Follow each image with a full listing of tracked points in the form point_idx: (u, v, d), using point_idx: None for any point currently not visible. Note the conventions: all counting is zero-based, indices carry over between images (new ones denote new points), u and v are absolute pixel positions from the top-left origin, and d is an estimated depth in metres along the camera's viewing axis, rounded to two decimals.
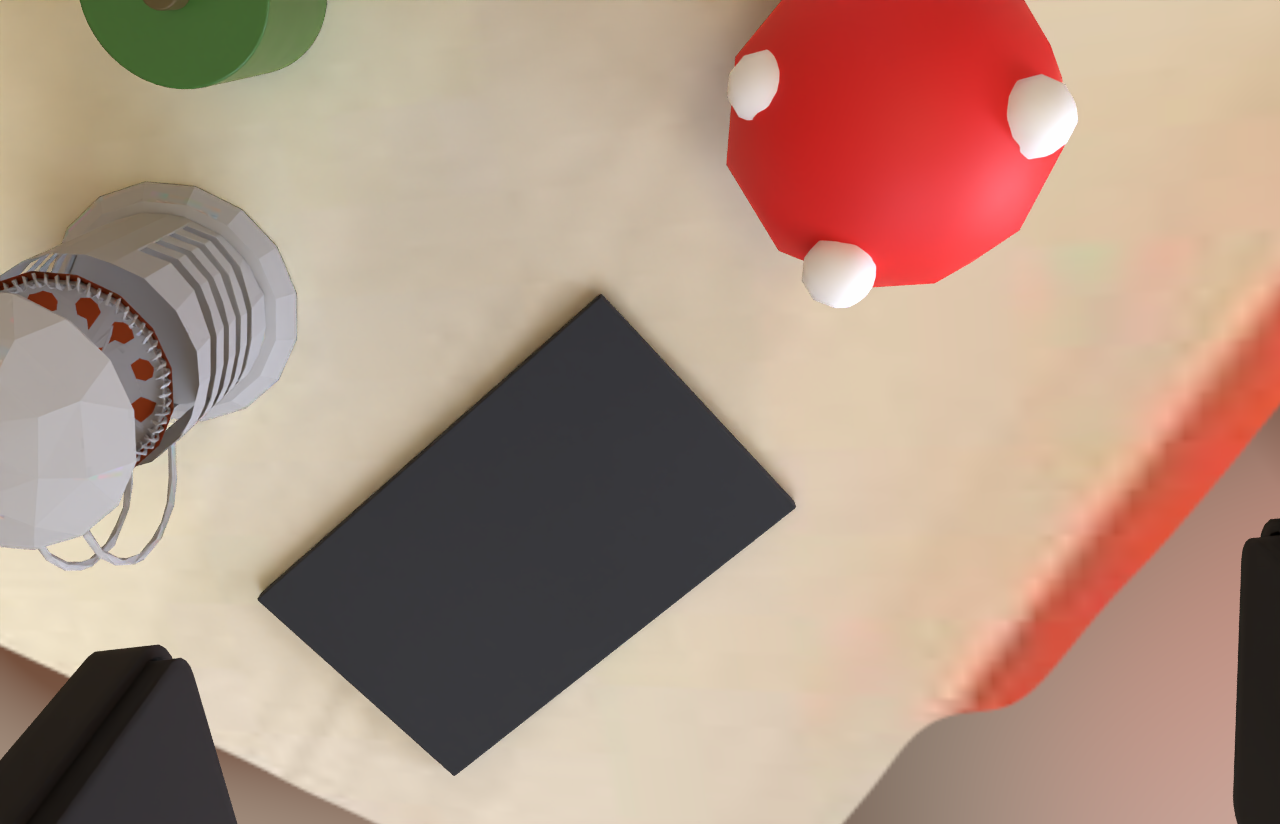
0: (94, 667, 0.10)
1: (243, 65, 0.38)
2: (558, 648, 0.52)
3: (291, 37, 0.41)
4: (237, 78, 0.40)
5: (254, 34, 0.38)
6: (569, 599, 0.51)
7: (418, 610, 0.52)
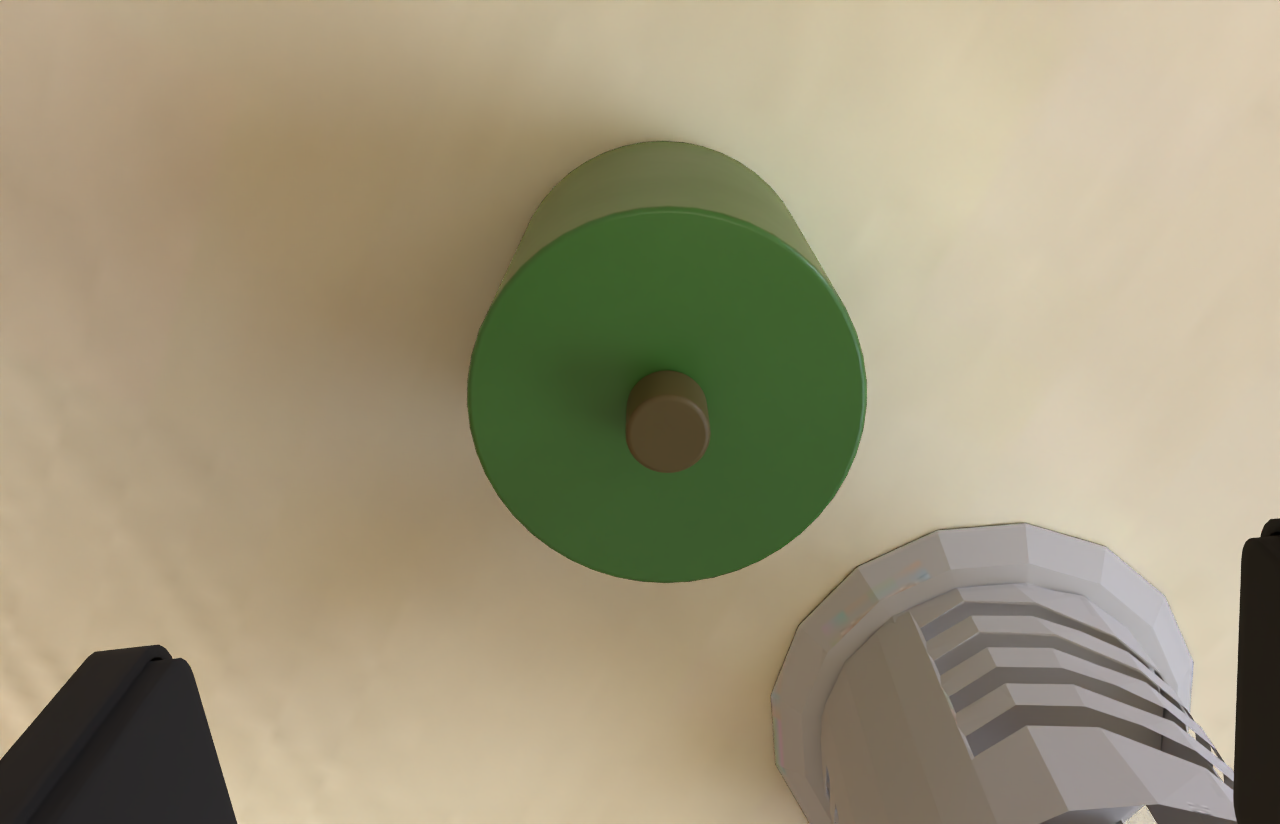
0: (94, 667, 0.10)
1: (865, 385, 0.18)
2: None
3: None
4: None
5: (836, 326, 0.18)
6: None
7: None
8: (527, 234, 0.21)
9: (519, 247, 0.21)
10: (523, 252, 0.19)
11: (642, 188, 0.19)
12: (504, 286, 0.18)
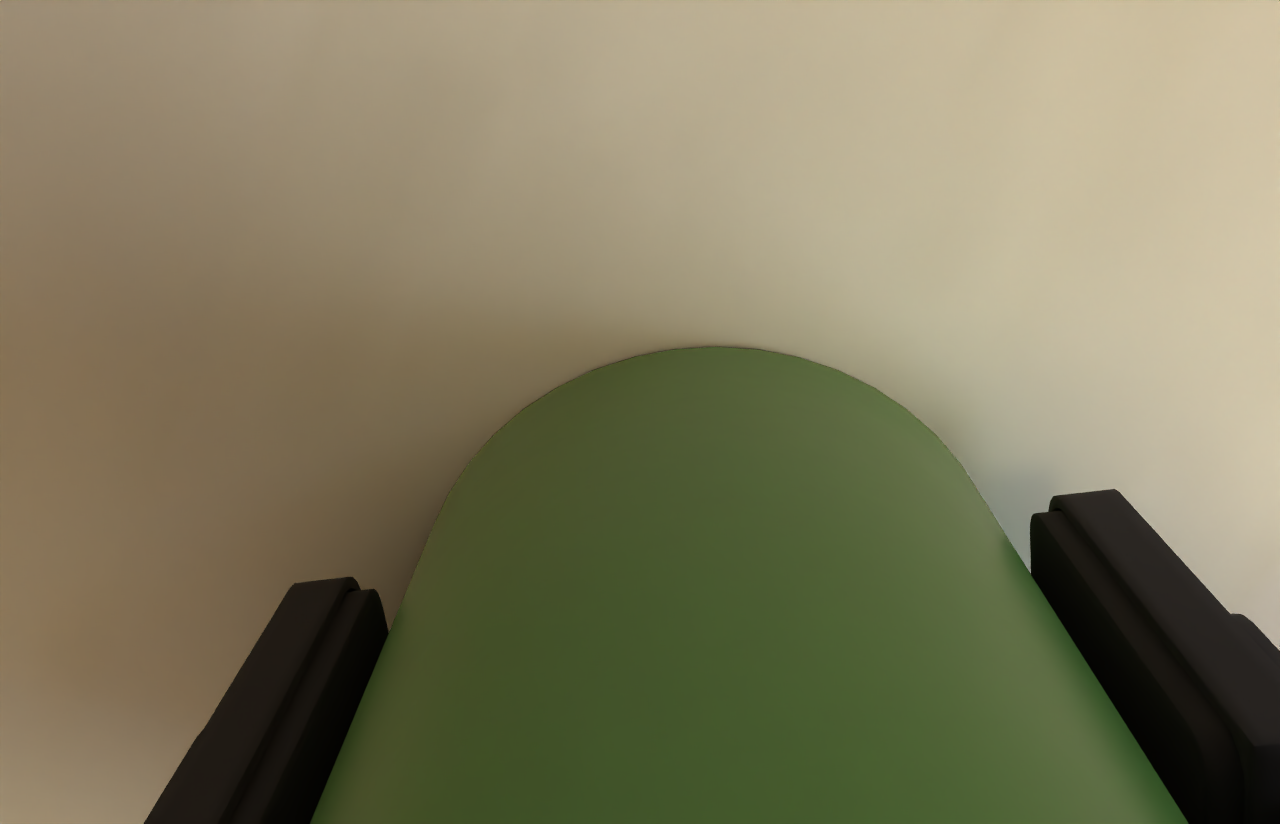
0: (300, 596, 0.11)
1: None
2: None
3: None
4: None
5: None
6: None
7: None
8: (403, 632, 0.09)
9: (380, 673, 0.08)
10: (349, 808, 0.07)
11: (692, 633, 0.06)
12: None
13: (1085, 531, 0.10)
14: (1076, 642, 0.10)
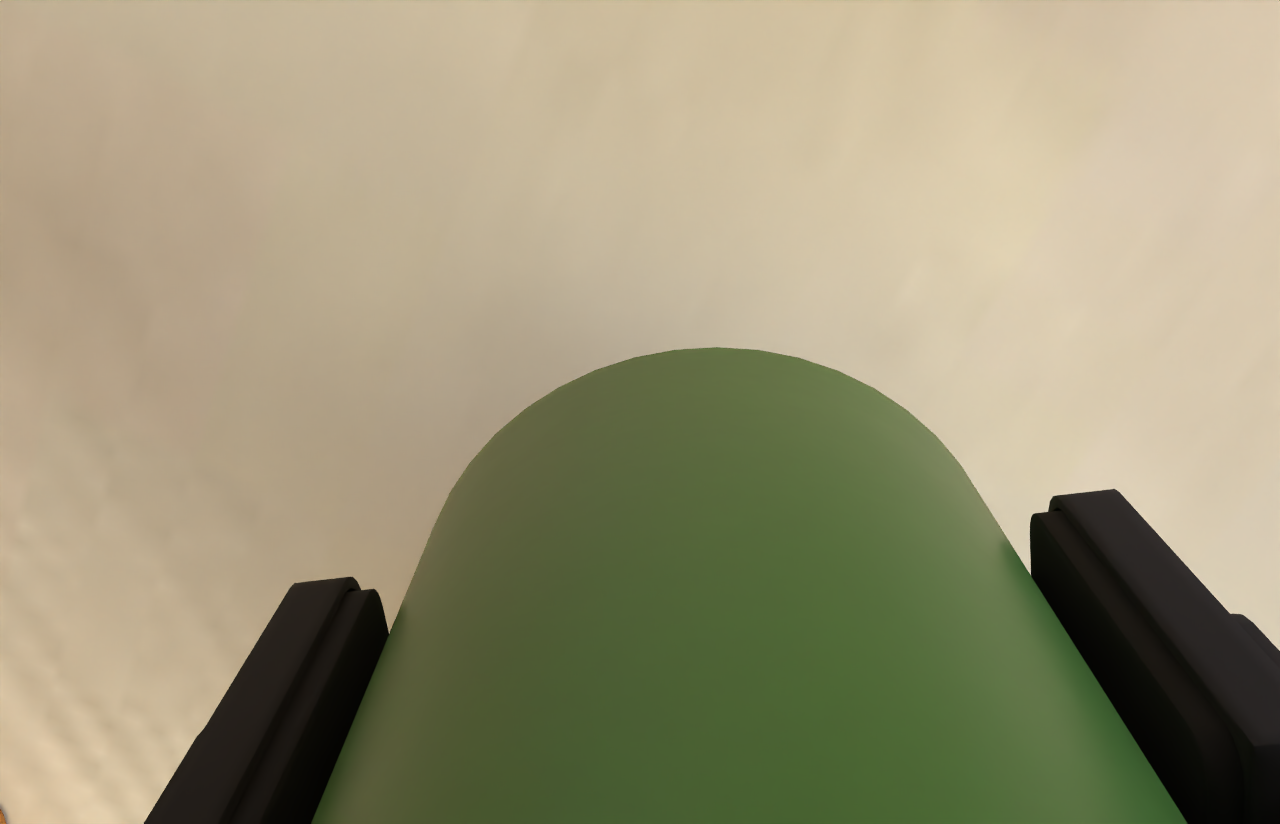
0: (300, 596, 0.11)
1: None
2: None
3: None
4: None
5: None
6: None
7: None
8: (404, 632, 0.09)
9: (382, 673, 0.08)
10: (350, 807, 0.07)
11: (692, 633, 0.06)
12: None
13: (1084, 531, 0.10)
14: (1076, 642, 0.10)
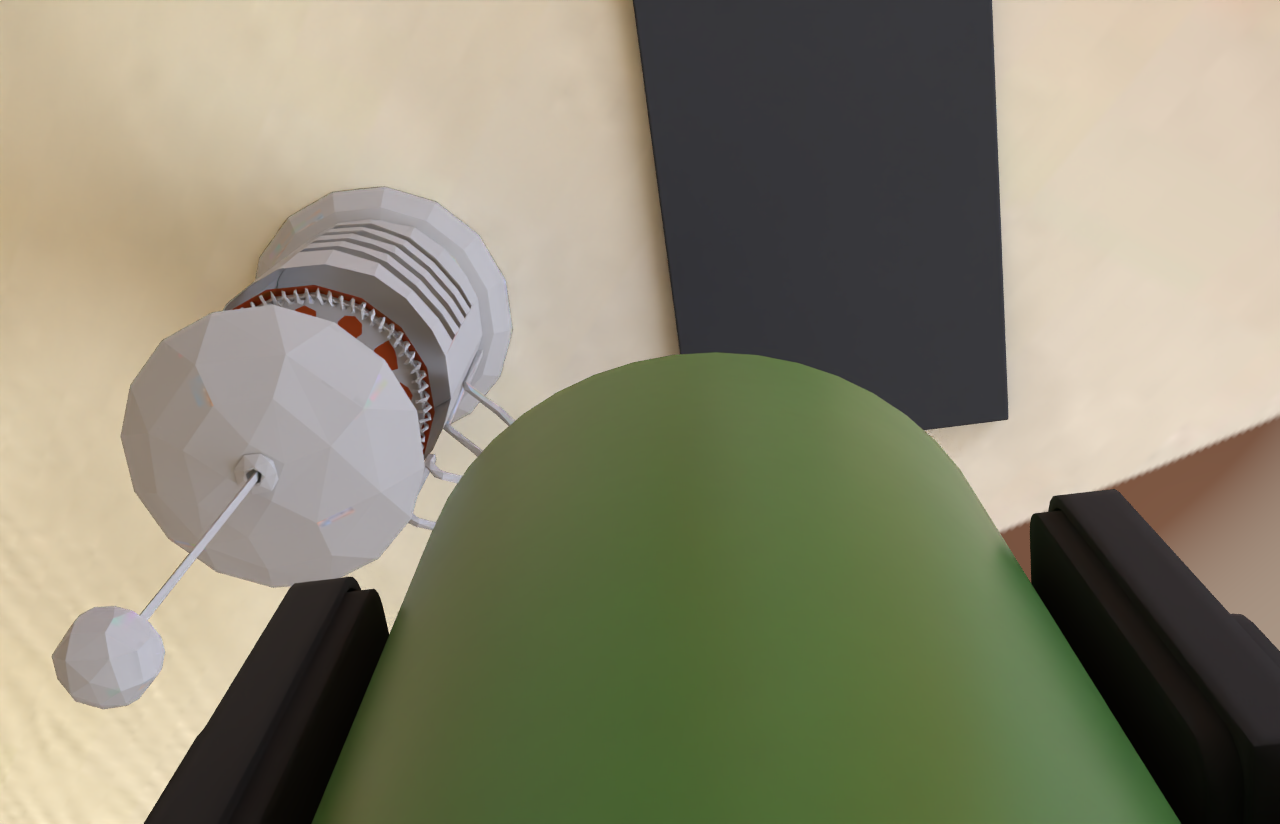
0: (300, 596, 0.11)
1: None
2: (952, 216, 0.43)
3: None
4: None
5: None
6: (909, 165, 0.43)
7: (812, 322, 0.45)
8: (402, 639, 0.09)
9: (379, 680, 0.08)
10: (346, 818, 0.07)
11: (690, 643, 0.06)
12: None
13: (1085, 531, 0.10)
14: (1076, 642, 0.10)
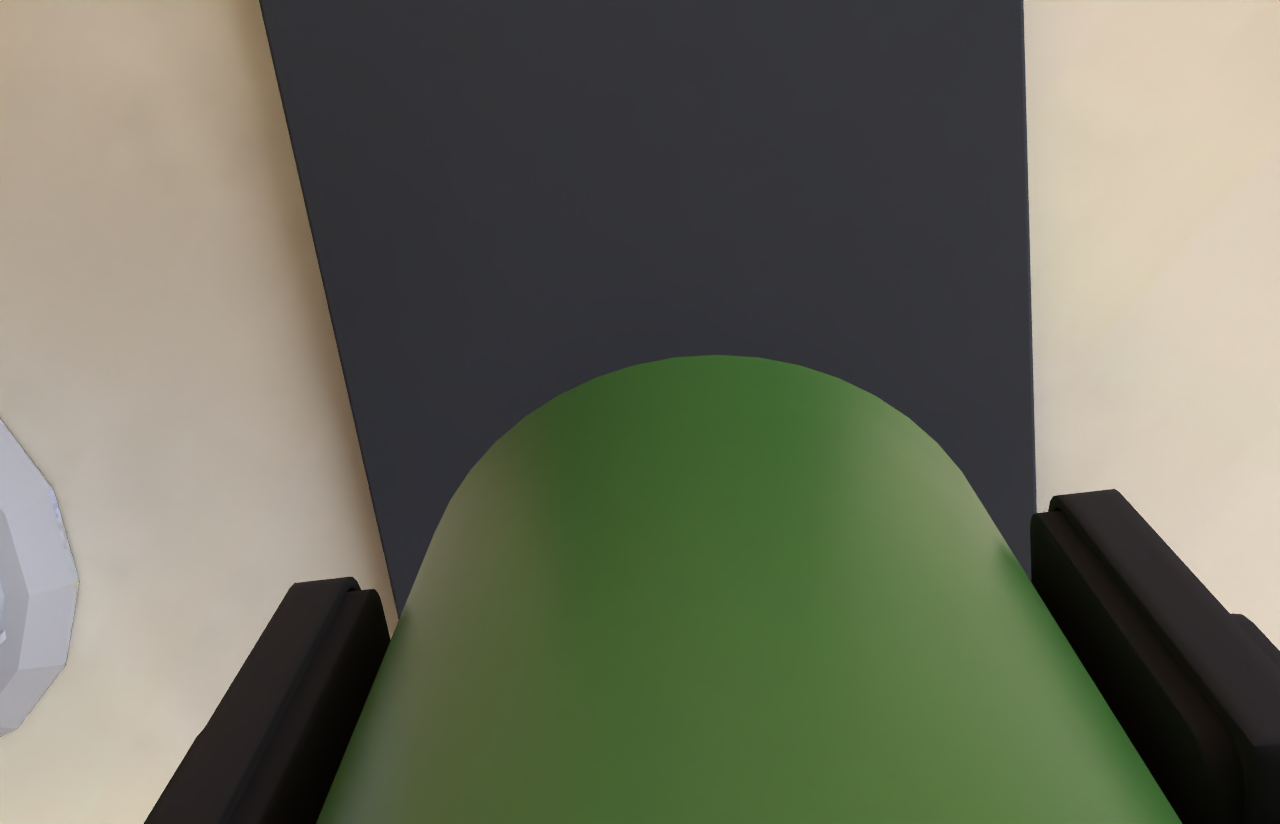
0: (300, 595, 0.11)
1: None
2: (935, 380, 0.21)
3: None
4: None
5: None
6: (845, 280, 0.21)
7: None
8: (405, 642, 0.09)
9: (382, 684, 0.08)
10: (350, 822, 0.07)
11: (694, 647, 0.06)
12: None
13: (1085, 531, 0.10)
14: (1076, 642, 0.10)
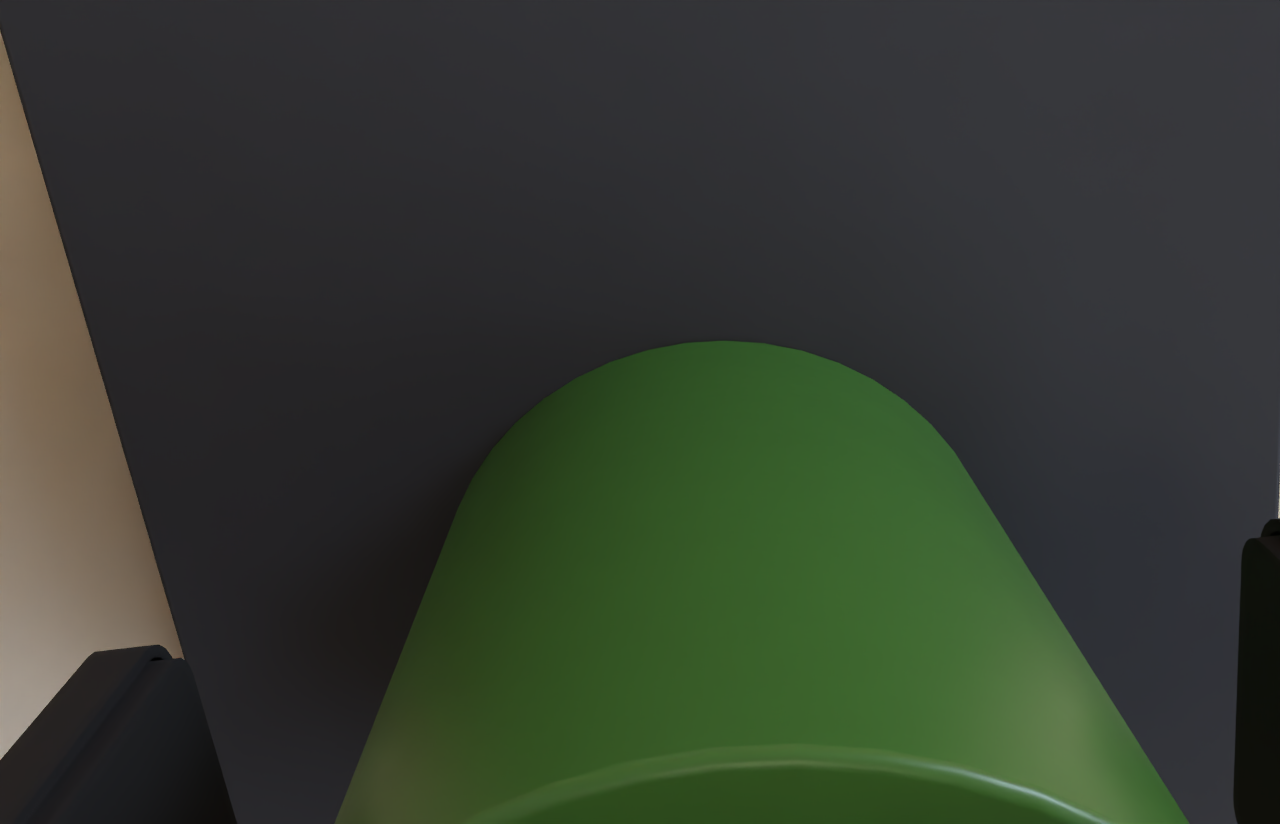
0: (94, 667, 0.10)
1: None
2: (1115, 630, 0.13)
3: None
4: None
5: None
6: (978, 477, 0.13)
7: None
8: (437, 599, 0.09)
9: (417, 636, 0.09)
10: (397, 747, 0.07)
11: (705, 589, 0.07)
12: None
13: None
14: None
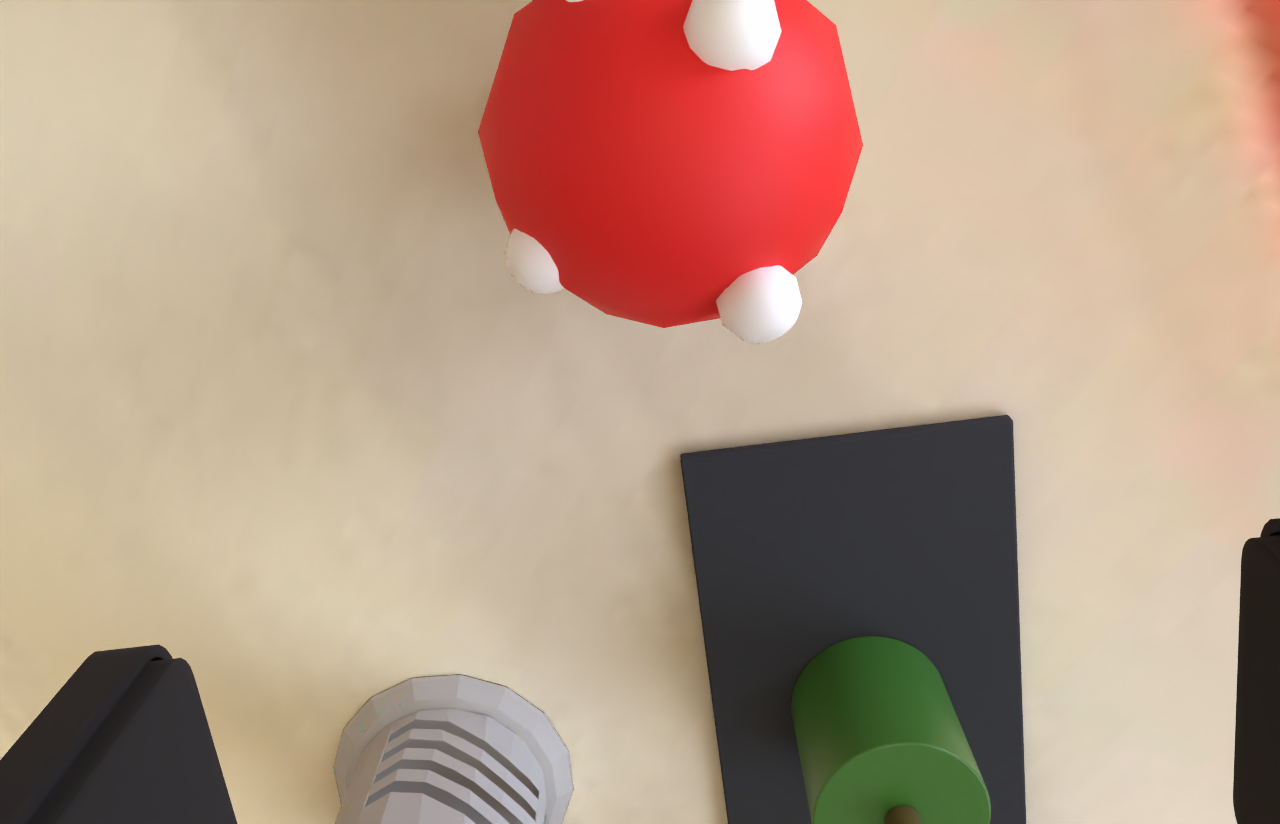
0: (94, 667, 0.10)
1: (990, 810, 0.41)
2: (978, 709, 0.47)
3: (962, 729, 0.43)
4: None
5: (978, 788, 0.40)
6: (939, 669, 0.47)
7: None
8: (820, 710, 0.43)
9: (818, 719, 0.43)
10: (833, 742, 0.41)
11: (887, 715, 0.41)
12: (833, 771, 0.40)
13: None
14: None
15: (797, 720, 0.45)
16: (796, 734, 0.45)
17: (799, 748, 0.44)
